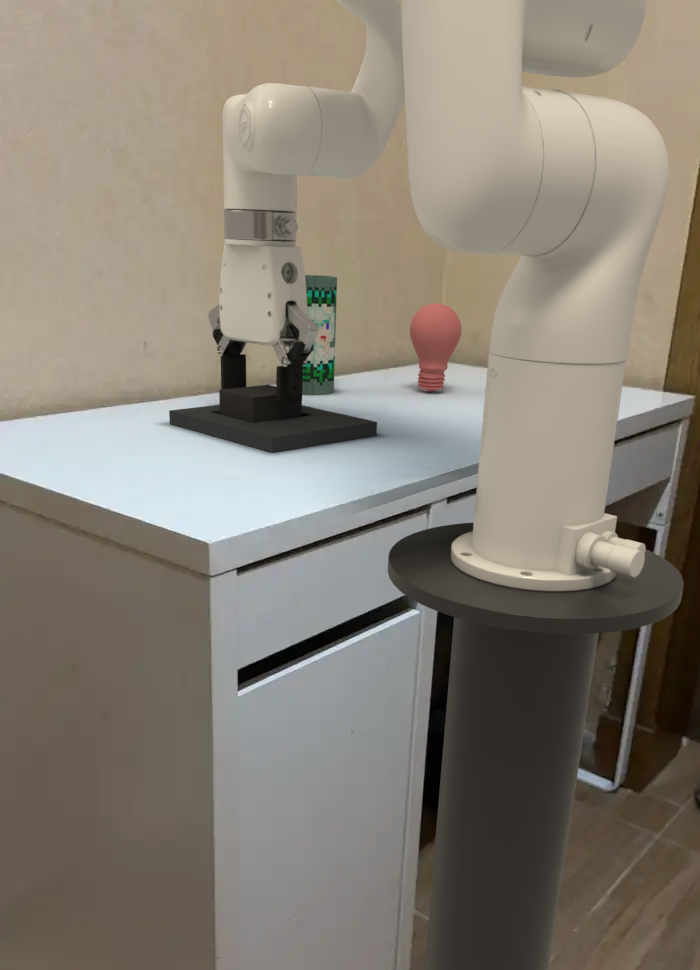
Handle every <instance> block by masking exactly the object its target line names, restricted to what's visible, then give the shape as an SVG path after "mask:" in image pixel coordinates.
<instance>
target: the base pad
mask: <svg viewBox="0 0 700 970" xmlns="http://www.w3.org/2000/svg"><path fill="white" fill-rule="evenodd" d="M168 413H169V425H172V426H177V427H179V428H183V429H187V430H191V431H195V432H199V433H202V434H205V435H208V436H213V437H216V438H219V439H223V440H225V441H230V442H232V443H233V442H234V443H237V444H240V445H243V446H244V445H245V446H248V447H250V448H251V447H252V448H254V449H258V450H262V451H264V452H265V451H266V452H268V453H278V452H284V451H290V450H296V449H302V448H308V447H315V446H319V445H326V444H332V443H338V442H344V441H350V440H357V439H364V438H369V437H374V436H377V435H378V421H375V420H371V419H366V418H361V417H357V416H353V415H348V414H345V413H344V414H343V413H339V412H336V411H331V410H326V409H322V408H321V409H320V408H317V407H312V406H307V405H303V404H302V417H295V418H287V419H280V420H273V421H265V422H258V423H250V422H247V421H243V420H239V419H235V418H231V417H227V416H223V415H220V404H214V405H204V406H197V407H196V406H195V407H189V408H177V409H169V411H168Z"/></svg>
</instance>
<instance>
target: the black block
mask: <svg viewBox="0 0 700 970" xmlns="http://www.w3.org/2000/svg"><path fill="white" fill-rule="evenodd" d="M218 393H219V394H218V397H219V398H218V399H219V405H220V415H223V416H227V417H231V418H235V419H239V420H243V421H247V422H250V423H258V422H265V421H273V420H280V419H287V418H295V417H302V405H303V400H302V401H301V402H300V403H294V404H286V405H280V404H278V403H277V401H276V385H270V384H261V385H251V386H246V387H241V388H232V389H222V390H221V389H219V390H218Z"/></svg>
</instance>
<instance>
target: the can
mask: <svg viewBox="0 0 700 970" xmlns="http://www.w3.org/2000/svg"><path fill="white" fill-rule="evenodd" d="M305 280H306V294H307V316H308V317H309V318H310V319H312V320H313V321H314V322H315V323H316V324H317V325H318V333H317V336H316V339H315V341H314V344H313V350H312V352H311V353H310V355H309V356H308V357H307V363H306V365H303V376H302V395H315V396H316V395H328V394H333V393H335V369H336V368H335V367H336V365H335V364H336V363H335V361H336V332H337V331H336V329H337V328H336V326H337V299H338V298H337V294H338V293H337V292H338V291H337V290H338V276H333V275H319V274H318V275H317V274H305ZM289 351H290V347H288V352H289Z"/></svg>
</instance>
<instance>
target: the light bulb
mask: <svg viewBox="0 0 700 970" xmlns="http://www.w3.org/2000/svg"><path fill="white" fill-rule="evenodd" d="M409 336H410V341H411V344H412V346H413V349H414V351H415V354H416V356H417V358H418V368H419V372H418V373H417V376H418V377H417V380H418V381H417V384H418V385H417V387H418V388H419V389H421V390H425V391H426V392H428V393H433V392H436V391H438V390H442V389H445V388H444V385H445V379H446V378H445V377H446V375H445V372H446V371H447V369H448V367H449V366H448V363H449V360H450V359H451V357H452V355H453V354H454V352H455V350H456V348H457V346H458V345H459V342H460V340H461V336H462V323H461V320H460V317H459V315H458V314H457V313H456V311H455V310H454V309H453V308H451V307H450V306H448V305H446V304H444V303H439V302H438V303H437V302H434V303H429V304H426V305H424V306H423V307H421V308H419V310H417V311H416V313H414V316H413V317H412V320H411V322H410V324H409Z"/></svg>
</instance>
